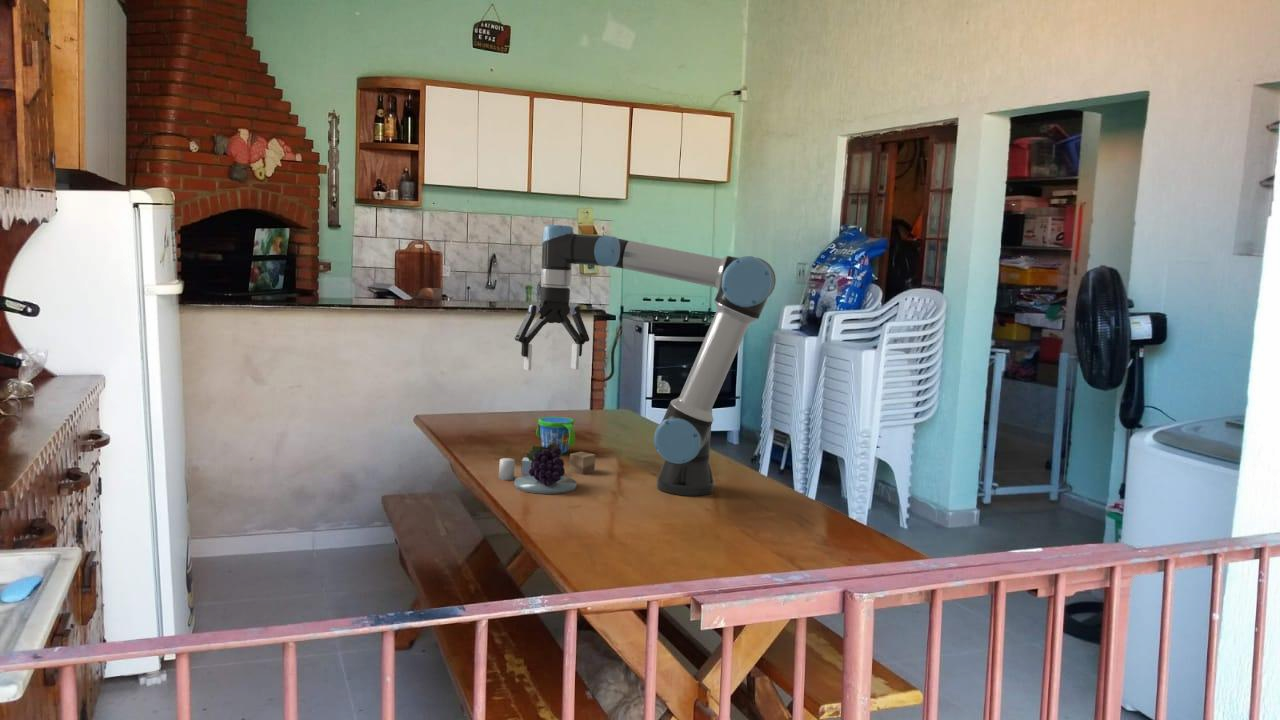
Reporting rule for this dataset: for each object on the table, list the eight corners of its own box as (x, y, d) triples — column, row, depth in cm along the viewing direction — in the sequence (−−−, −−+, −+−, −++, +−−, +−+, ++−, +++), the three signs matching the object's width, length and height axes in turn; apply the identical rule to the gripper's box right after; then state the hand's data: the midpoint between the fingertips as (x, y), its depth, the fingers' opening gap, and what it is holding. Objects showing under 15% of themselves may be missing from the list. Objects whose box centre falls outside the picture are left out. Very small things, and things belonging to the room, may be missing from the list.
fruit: (538, 500, 237) (522, 471, 249) (577, 491, 240) (560, 464, 253) (536, 464, 233) (520, 438, 245) (576, 456, 236) (558, 430, 249)
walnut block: (594, 472, 262) (595, 454, 262) (582, 474, 258) (583, 457, 258) (580, 468, 265) (581, 451, 265) (569, 471, 261) (569, 454, 261)
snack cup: (526, 448, 287) (527, 416, 286) (554, 445, 293) (556, 413, 292) (554, 459, 275) (556, 425, 274) (583, 456, 281) (585, 422, 280)
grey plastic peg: (516, 479, 249) (517, 460, 248) (502, 480, 247) (503, 462, 246) (510, 475, 252) (510, 457, 252) (496, 477, 250) (497, 458, 249)
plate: (587, 490, 241) (587, 486, 241) (531, 496, 233) (531, 491, 232) (558, 476, 255) (558, 472, 254) (504, 481, 246) (504, 476, 246)
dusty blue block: (550, 476, 255) (551, 462, 254) (521, 475, 255) (521, 460, 254) (552, 473, 259) (552, 459, 258) (523, 471, 259) (523, 457, 258)
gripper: (590, 286, 247) (586, 366, 250) (504, 283, 234) (500, 368, 236) (605, 288, 241) (600, 370, 244) (516, 285, 228) (513, 372, 230)
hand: (551, 369), depth 240 cm, fingers open, 13 cm apart
